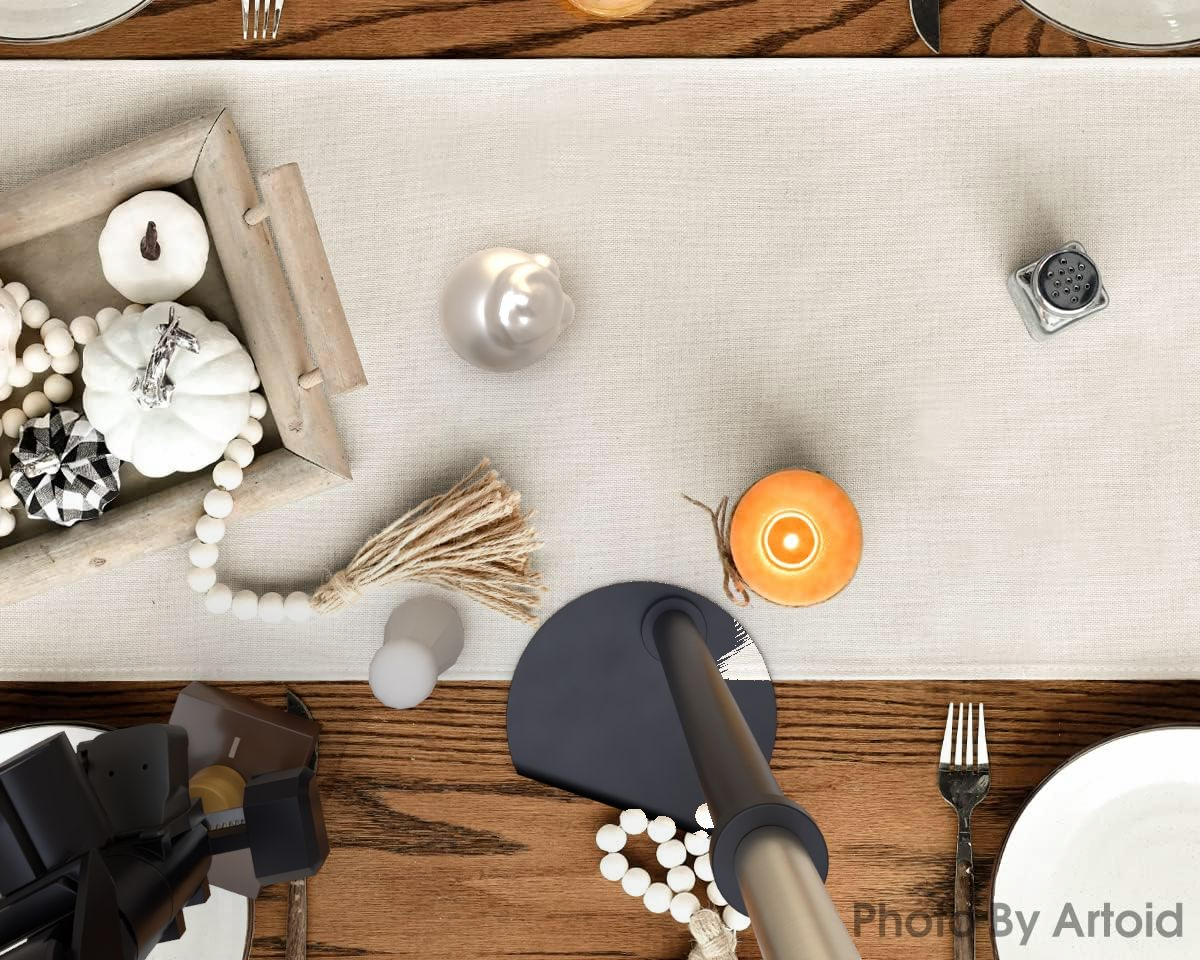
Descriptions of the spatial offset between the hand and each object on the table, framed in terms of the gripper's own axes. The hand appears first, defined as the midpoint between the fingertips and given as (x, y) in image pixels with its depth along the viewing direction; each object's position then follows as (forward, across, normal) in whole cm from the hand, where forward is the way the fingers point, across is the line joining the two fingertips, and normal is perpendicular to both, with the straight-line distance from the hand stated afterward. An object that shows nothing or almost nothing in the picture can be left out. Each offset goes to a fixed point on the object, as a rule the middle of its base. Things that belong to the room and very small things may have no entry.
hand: (216, 796), depth 73 cm
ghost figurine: (+3, -26, -30) cm, 40 cm away
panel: (+3, 0, 0) cm, 3 cm away
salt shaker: (+3, -16, -8) cm, 18 cm away
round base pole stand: (+3, -30, +1) cm, 31 cm away
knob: (0, 0, 0) cm, 0 cm away
